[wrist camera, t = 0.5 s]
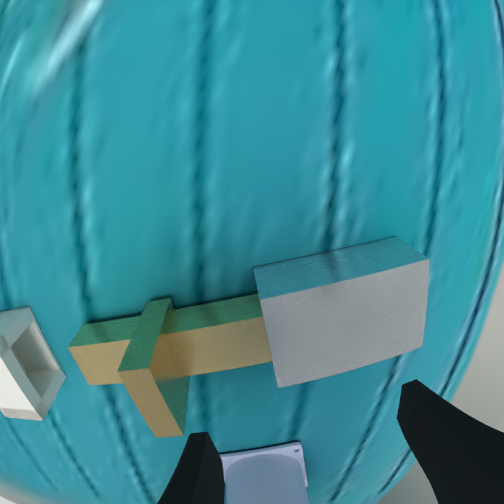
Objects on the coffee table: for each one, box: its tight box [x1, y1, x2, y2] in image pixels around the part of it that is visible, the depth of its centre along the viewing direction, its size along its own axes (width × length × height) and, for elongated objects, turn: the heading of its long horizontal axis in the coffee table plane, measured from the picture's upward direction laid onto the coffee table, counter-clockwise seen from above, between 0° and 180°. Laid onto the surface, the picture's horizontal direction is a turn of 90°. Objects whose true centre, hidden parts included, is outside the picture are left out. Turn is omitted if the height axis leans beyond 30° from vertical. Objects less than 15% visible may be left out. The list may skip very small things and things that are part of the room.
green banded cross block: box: [68, 293, 272, 437], centre depth 16 cm, size 5×20×6 cm, turn 101°
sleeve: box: [253, 237, 429, 388], centre depth 17 cm, size 6×9×4 cm, turn 101°
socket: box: [0, 306, 66, 421], centre depth 17 cm, size 6×4×5 cm
